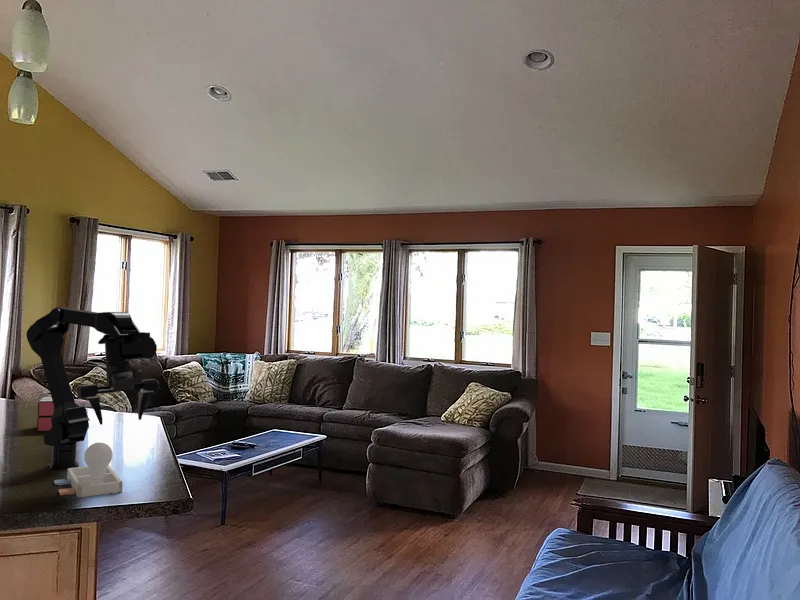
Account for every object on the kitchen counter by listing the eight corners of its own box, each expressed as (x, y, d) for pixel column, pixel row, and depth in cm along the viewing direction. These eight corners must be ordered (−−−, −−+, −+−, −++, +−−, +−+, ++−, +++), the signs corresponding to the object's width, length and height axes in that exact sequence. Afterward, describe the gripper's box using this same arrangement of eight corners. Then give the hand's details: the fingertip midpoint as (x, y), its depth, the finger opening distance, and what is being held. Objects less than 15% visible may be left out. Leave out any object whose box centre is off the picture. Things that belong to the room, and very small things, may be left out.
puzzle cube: (70, 431, 220) (72, 401, 220) (36, 432, 217) (38, 401, 217) (73, 425, 230) (74, 396, 230) (40, 426, 226) (42, 397, 226)
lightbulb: (116, 487, 159) (118, 441, 159) (98, 494, 153) (101, 446, 153) (95, 484, 160) (97, 439, 161) (76, 491, 155) (78, 443, 155)
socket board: (52, 479, 163) (53, 469, 163) (107, 473, 170) (108, 464, 170) (62, 499, 148) (62, 488, 148) (122, 492, 155) (122, 482, 155)
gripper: (82, 364, 158) (85, 430, 157) (163, 357, 168) (166, 419, 167) (76, 363, 167) (78, 426, 167) (153, 358, 177) (156, 416, 177)
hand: (120, 422), depth 169 cm, fingers open, 9 cm apart
